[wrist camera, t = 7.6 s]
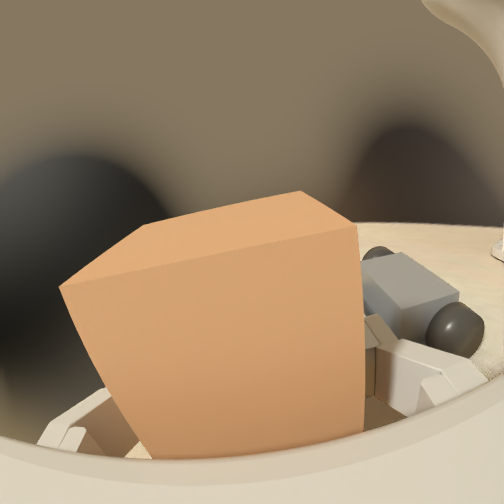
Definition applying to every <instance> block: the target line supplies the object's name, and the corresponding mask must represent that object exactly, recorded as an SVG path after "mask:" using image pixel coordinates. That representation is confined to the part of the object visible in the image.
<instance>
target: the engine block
mask: <svg viewBox="0 0 504 504" xmlns="http://www.w3.org/2000/svg"><path fill="white" fill-rule="evenodd" d="M59 288H60V290H61V293H62V295H63V298H64V301H65V303H66V306H67V308H68V310H69V312H70V315H71V317H72V320H73V322H74V324H75V326H76V329H77V331H78V333H79V335H80V337H81V339H82V341H83V344H84V346H85V348H86V350H87V352H88V354H89V356H90V358H91V360H92V362H93V364H94V366H95V367H96V369H97V371H98V373H99V375H100V377H101V378H102V380H103V382H104V384H105V386H106V388H107V389H108V391H109V393H110V394H111V396H112V398H113V400H114V401H115V403H116V405H117V406H118V408H119V409H120V411H121V413H122V414H123V416H124V417H125V419H126V421H127V422H128V424H129V425H130V427H131V428H132V430H133V431H134V433H135V434H136V436H137V437H138V439H139V440H140V441H141V443H142V444H143V446H144V447H145V449H146V450H147V451H148V453H149V454H150V455H151V457H152V458H153V459H205V458H221V457H233V456H243V455H252V454H260V453H267V452H274V451H280V450H286V449H292V448H298V447H303V446H308V445H313V444H318V443H322V442H327V441H331V440H335V439H339V438H343V437H347V436H351V435H354V434H358V433H362V432H364V411H365V328H364V306H363V289H362V276H361V264H360V253H359V243H358V234H357V226H356V225H355V224H354V223H352V222H350V221H349V220H347V219H346V218H344V217H343V216H341V215H339V214H338V213H336V212H335V211H333V210H332V209H330V208H328V207H327V206H325V205H323V204H322V203H320V202H318V201H317V200H315V199H314V198H312V197H310V196H309V195H307V194H305V193H304V192H302V191H297V192H292V193H286V194H282V195H276V196H271V197H266V198H261V199H256V200H251V201H247V202H242V203H237V204H233V205H228V206H223V207H219V208H214V209H210V210H205V211H201V212H196V213H192V214H188V215H184V216H180V217H175V218H171V219H167V220H163V221H159V222H155V223H151V224H147V225H143V226H142V227H140V228H139V229H137V230H136V231H134V232H133V233H131V234H130V235H129V236H127V237H126V238H124V239H123V240H121V241H120V242H119V243H117V244H116V245H114V246H113V247H112V248H110V249H109V250H107V251H106V252H104V253H103V254H102V255H100V256H99V257H98V258H96V259H95V260H94V261H92V262H91V263H89V264H88V265H87V266H85V267H84V268H83V269H82V270H80V271H79V272H78V273H76V274H75V275H74V276H72V277H71V278H70V279H68V280H67V281H66V282H65V283H63V284H62V285H61V286H60V287H59Z"/></svg>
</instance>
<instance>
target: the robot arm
mask: <svg viewBox="0 0 504 504" xmlns="http://www.w3.org/2000/svg"><path fill="white" fill-rule="evenodd" d="M421 1H422V2H423V4H424V5H425V6H426V7H427V9H428V10H429V11H430V12H431V13H432V14H434V15H435V16H436V17H437V18H439V19H441V20H442V21H443V22H445V23H447V24H449V25H451V26H453V27H455V28H457V29H459V30H460V31H462V32H463V33H465V34H466V35H468V36H469V37H470V38H471V39H472V40H474V41H475V42H476V43H477V44H478V45H479V46H480V47H481V48H482V49H483V51H484V52H485V53H486V54H487V56H488V57H489V58H490V60H491V61H492V63H493V64H494V66H495V68H496V70H497V72H498V74H499V76H500V79H501V82H502V84H503V88H504V0H421ZM491 254H492V255H493V256H494V257H496V258H498V259H500V260H502V261H504V233H503V238H502V239H501V240H500V241H498V242H497V243H495V244H494V245H493V246H492V250H491ZM364 328H365V398H368V397H371V396H375V397H376V398H378V399H379V400H381V401H382V402H384V403H386V404H387V405H389V406H390V407H392V408H394V409H395V410H397V411H398V412H400V413H402V414H403V415H405V416H407V418H405V419H402V420H399V421H396V422H393V423H391V424H388V425H385V426H381V427H378V428H375V429H372V430H368V431H365V432H362V433H358V434H354V435H351V436H347V437H343V438H339V439H335V440H331V441H327V442H322V443H318V444H313V445H308V446H303V447H298V448H292V449H286V450H280V451H274V452H267V453H260V454H252V455H243V456H233V457H221V458H205V459H138V458H124V457H125V455H126V454H127V453H128V452H129V451H130V450H131V449H132V448H133V447H134V446H135V445H136V444H137V443H138V442H139V441H140V440H139V439H138V437H137V436H136V434H135V433H134V431H133V430H132V428H131V427H130V425H129V424H128V422H127V421H126V419H125V417H124V416H123V414H122V413H121V411H120V409H119V408H118V406H117V405H116V403H115V401H114V400H113V398H112V396H111V394H110V393H109V391H108V389H107V388H106V387H105V388H104V389H100V390H98V391H97V392H95V393H94V394H92V395H91V396H89V397H88V398H86V399H85V400H83V401H82V402H80V403H79V404H77V405H76V406H74V407H72V408H71V409H69V410H68V411H66V412H65V413H63V414H62V415H60V416H59V417H57V418H56V419H54V420H53V421H51V422H50V423H49V424H48V426H47V428H46V429H45V431H44V432H43V434H42V436H41V437H40V439H39V441H38V443H37V444H36V445H35V444H30V443H27V442H23V441H18V440H14V439H11V438H7V437H4V436H1V435H0V504H504V373H502V374H500V375H499V376H497V377H495V378H493V379H491V380H488V379H487V378H486V377H485V376H484V375H483V374H482V373H481V371H480V370H479V369H478V368H477V367H476V366H475V365H474V364H473V363H472V362H471V360H470V359H468V358H464V357H461V356H458V355H454V354H451V353H448V352H444V351H441V350H438V349H434V348H431V347H428V346H425V345H421V344H418V343H415V342H412V341H409V340H405V339H400V340H398V339H397V337H396V336H395V335H394V333H393V332H392V331H391V330H390V328H389V327H388V326H387V324H386V323H385V322H384V321H383V319H382V318H381V317H380V316H379V314H373V315H370V316H366V317H364Z"/></svg>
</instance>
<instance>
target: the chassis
mask: <svg viewBox="0 0 504 504" xmlns="http://www.w3.org/2000/svg"><path fill="white" fill-rule="evenodd" d="M360 264H361V276H362V289H363V306H364V317H366V316H370V315H373V314H379V316H380V317H381V318H382V319H383V321H384V322H385V323H386V324H387V326H388V327H389V328H390V330H391V331H392V332H393V333H394V335H395V336H396V337H397V339H398V340H400V339H405V340H409V341H412V342H415V343H418V344H421V345H425V346H428V347H431V348H434V349H438V350H441V351H444V352H448V353H451V354H454V355H458V356H461V357H464V358H469V357H470V356H471V355H472V354H473V353H474V352H475V351H476V349H477V348H478V346H479V344H480V343H481V340H482V338H483V334H484V322H483V319H482V318H481V317H480V316H479V315H477V314H476V313H475V312H474V311H472V310H471V309H470V308H469V307H467V306H466V305H465V304H463V303H462V302H458V301H459V291H458V290H456V289H455V288H454V287H452V286H451V285H449V284H448V283H447V282H445V281H444V280H442V279H441V278H439V277H438V276H437V275H435V274H434V273H432V272H431V271H429V270H428V269H426V268H425V267H423V266H422V265H420V264H419V263H417V262H416V261H414V260H413V259H411V258H410V257H408V256H407V255H405V254H404V253H402V252H399V253H393V252H392V251H390V250H389V249H388V248H386V247H382V246H378V247H374V248H372V249H370V250H369V251H368V252H367V253H366V254H365V256H364V257H363V259H362V261H360Z"/></svg>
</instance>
